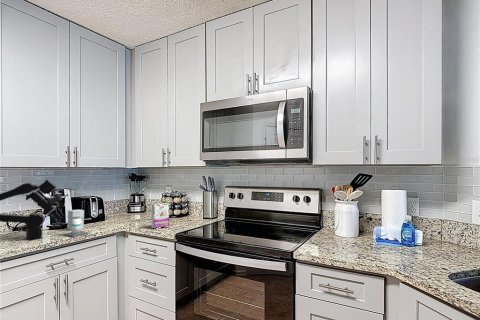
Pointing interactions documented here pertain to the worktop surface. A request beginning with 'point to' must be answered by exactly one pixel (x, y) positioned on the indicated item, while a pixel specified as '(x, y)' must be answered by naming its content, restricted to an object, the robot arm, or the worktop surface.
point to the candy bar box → (160, 215)
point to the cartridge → (76, 225)
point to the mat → (75, 234)
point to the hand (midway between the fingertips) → (62, 217)
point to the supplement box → (74, 214)
